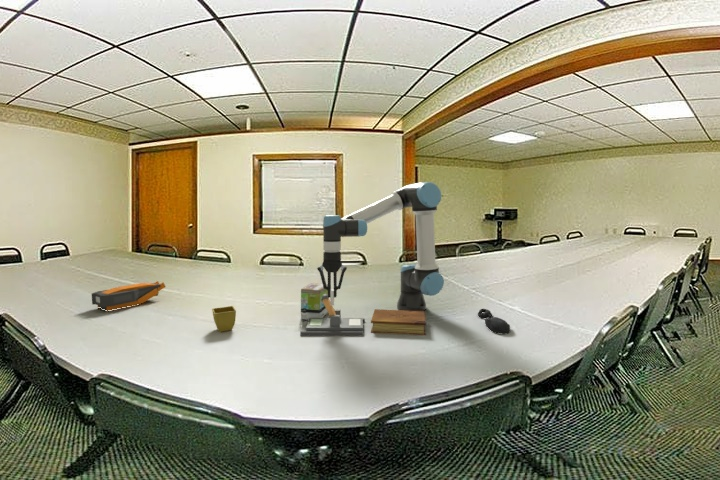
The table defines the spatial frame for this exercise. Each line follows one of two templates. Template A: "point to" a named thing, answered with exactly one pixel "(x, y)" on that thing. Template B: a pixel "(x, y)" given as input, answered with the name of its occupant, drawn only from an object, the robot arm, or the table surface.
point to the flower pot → (224, 318)
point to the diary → (398, 322)
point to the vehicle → (126, 295)
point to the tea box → (313, 301)
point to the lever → (328, 304)
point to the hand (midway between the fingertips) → (332, 304)
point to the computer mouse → (494, 322)
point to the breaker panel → (335, 323)
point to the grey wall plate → (332, 333)
